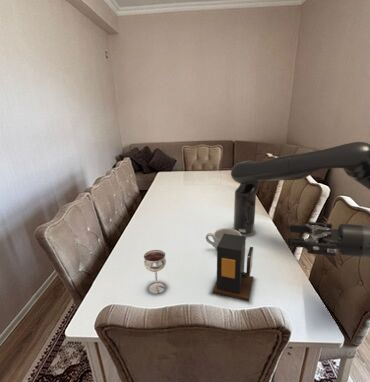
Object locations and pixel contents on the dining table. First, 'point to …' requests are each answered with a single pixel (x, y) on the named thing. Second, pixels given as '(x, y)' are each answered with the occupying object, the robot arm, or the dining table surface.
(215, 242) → the teacup
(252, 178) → the robot arm
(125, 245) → the dining table surface
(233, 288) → the dispenser
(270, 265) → the dining table surface
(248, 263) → the push plate
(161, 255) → the wineglass
